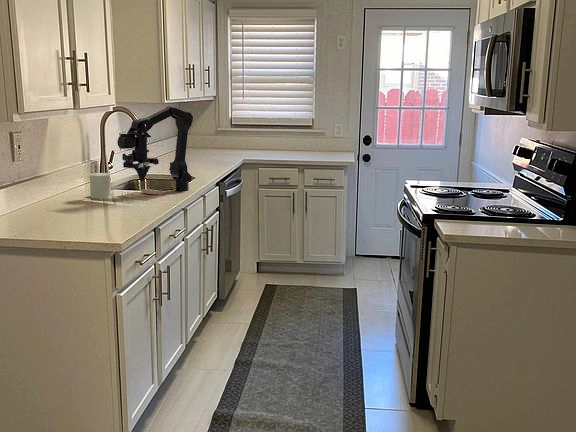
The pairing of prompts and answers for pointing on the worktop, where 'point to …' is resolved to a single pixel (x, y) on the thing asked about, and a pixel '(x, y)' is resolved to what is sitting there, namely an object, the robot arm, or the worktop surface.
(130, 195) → the board
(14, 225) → the worktop surface
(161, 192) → the tile
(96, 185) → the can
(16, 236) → the worktop surface
